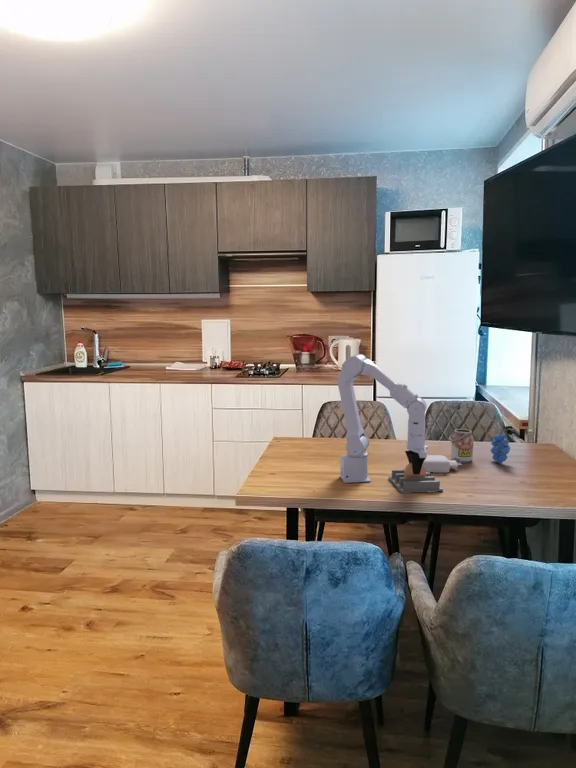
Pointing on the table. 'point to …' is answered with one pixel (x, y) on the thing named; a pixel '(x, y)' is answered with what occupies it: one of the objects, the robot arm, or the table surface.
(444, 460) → the charger
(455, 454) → the beverage can
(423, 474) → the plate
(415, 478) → the dish rack
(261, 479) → the table surface
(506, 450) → the grapes
